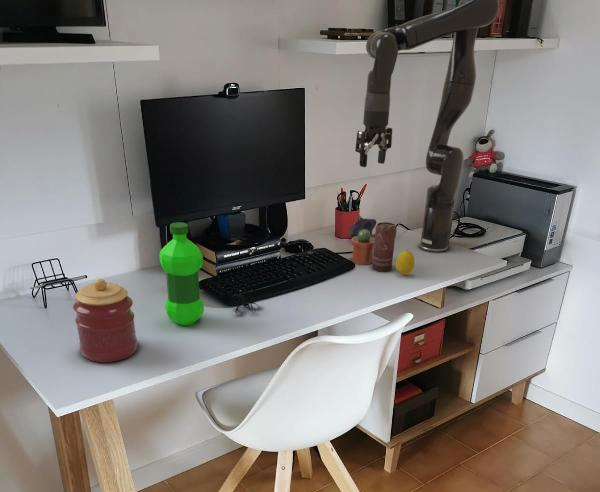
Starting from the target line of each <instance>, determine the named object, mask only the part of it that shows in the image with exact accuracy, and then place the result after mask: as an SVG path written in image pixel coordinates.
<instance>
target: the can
mask: <svg viewBox="0 0 600 492" xmlns="http://www.w3.org/2000/svg"><path fill="white" fill-rule="evenodd" d="M397 229H398V227H397V225H396V224H394V223H393V222H387V221H385V222H378V223H376V225H375V230H374V235H375V241H374V251H373V262H372V263H371V267H372V269H373V270H374V271H376V272H382V273H385V272H386V273H387V272H390V271H391V270H392V267H393V260H394V250H395V243H396V242H395V240H396V236H397V233H398V230H397Z"/></svg>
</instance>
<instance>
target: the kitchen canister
mask: <svg viewBox="0 0 600 492" xmlns="http://www.w3.org/2000/svg"><path fill="white" fill-rule="evenodd" d="M128 294H129V292H128V290H127V289H126V288H125V287H123V286H120V285H119V284H118V283H114V282H107V281H106V280H105V279H104V278H97V279H96V280H95V281H94V282H93V283H89V284H87V285H85V286H83V287H82V288H81V289H79V290H78V291H77V292H76V293H75V299H76V300H75V301H74V303H73V304H72V308H73V310H74V311H75V312H76V316H75V318H74V319H75V320H74V322H75V323H76V328H77V333H78V340H79V342H78V343H79V350H80V352H81V355H82V356H83V358H85V359H87V360H89V361H91V362H97V363H111V362H118V361H121V360H124V359H127V358H129V357H131V356H133V355H134V354H135V352H136V351H137V349H138V337H137V334H136V327H135V326H136V325H135V313H134V312H133V310H132V306H133V304H134V301H133V299H132V298H131V297H130V296H129V295H128Z"/></svg>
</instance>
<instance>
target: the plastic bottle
mask: <svg viewBox="0 0 600 492" xmlns="http://www.w3.org/2000/svg"><path fill="white" fill-rule="evenodd" d="M169 232H170V234H171V235H172V239H170V240H169V242H168V243H166V245H164V246H163V248H161V249H160V251H159V254H158V257H159V262H160V266H161V268H162V270H163V271H164V272H165V276H166V277H165V278H166V289H167V298H166V301H165V303H164V310H165V312H166V315H167V316H168V318H169V320H171V321H173V322H174V323H175V324H177V325H180V326H191V325H193V324H195V323H196V321H197V320H199V319H200V318H201V317H202V315H203V314H204V311H205V305H204V303H203V300H202V299H201V295H200V279H199V271H200V269H201V268H202V267H203V264H204V256H203V253H202V251H201V249H200V248H199V247H198V246H197V245H196V244H195V243H194V242H192V241H191V240H189V238H188V237H187V234H189V224H188V223H187V222H184V221H183V222H181V221H180V222H172V223H170V224H169Z"/></svg>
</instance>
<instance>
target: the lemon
mask: <svg viewBox="0 0 600 492" xmlns="http://www.w3.org/2000/svg"><path fill="white" fill-rule="evenodd" d="M395 268H396V270H397V272H398V273H400V274H401V275H402V276H407V275H408V274H410V273H411V272H412V271H413V270H414V268H415V256H414V255H413V253H412V252H411V251H409V250H407V249H406V250H403V251H401V252H399V254H398V255H397V258H396V260H395Z"/></svg>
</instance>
